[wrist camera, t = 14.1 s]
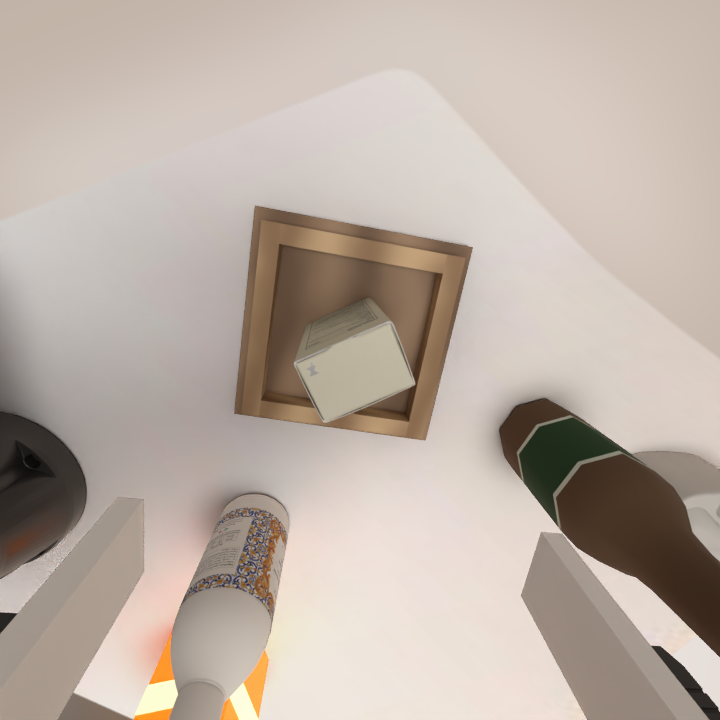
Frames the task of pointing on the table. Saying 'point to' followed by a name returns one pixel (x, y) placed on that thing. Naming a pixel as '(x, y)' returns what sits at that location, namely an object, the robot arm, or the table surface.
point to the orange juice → (162, 693)
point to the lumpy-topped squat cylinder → (692, 491)
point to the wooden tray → (333, 292)
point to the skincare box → (352, 360)
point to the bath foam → (228, 607)
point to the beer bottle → (615, 510)
